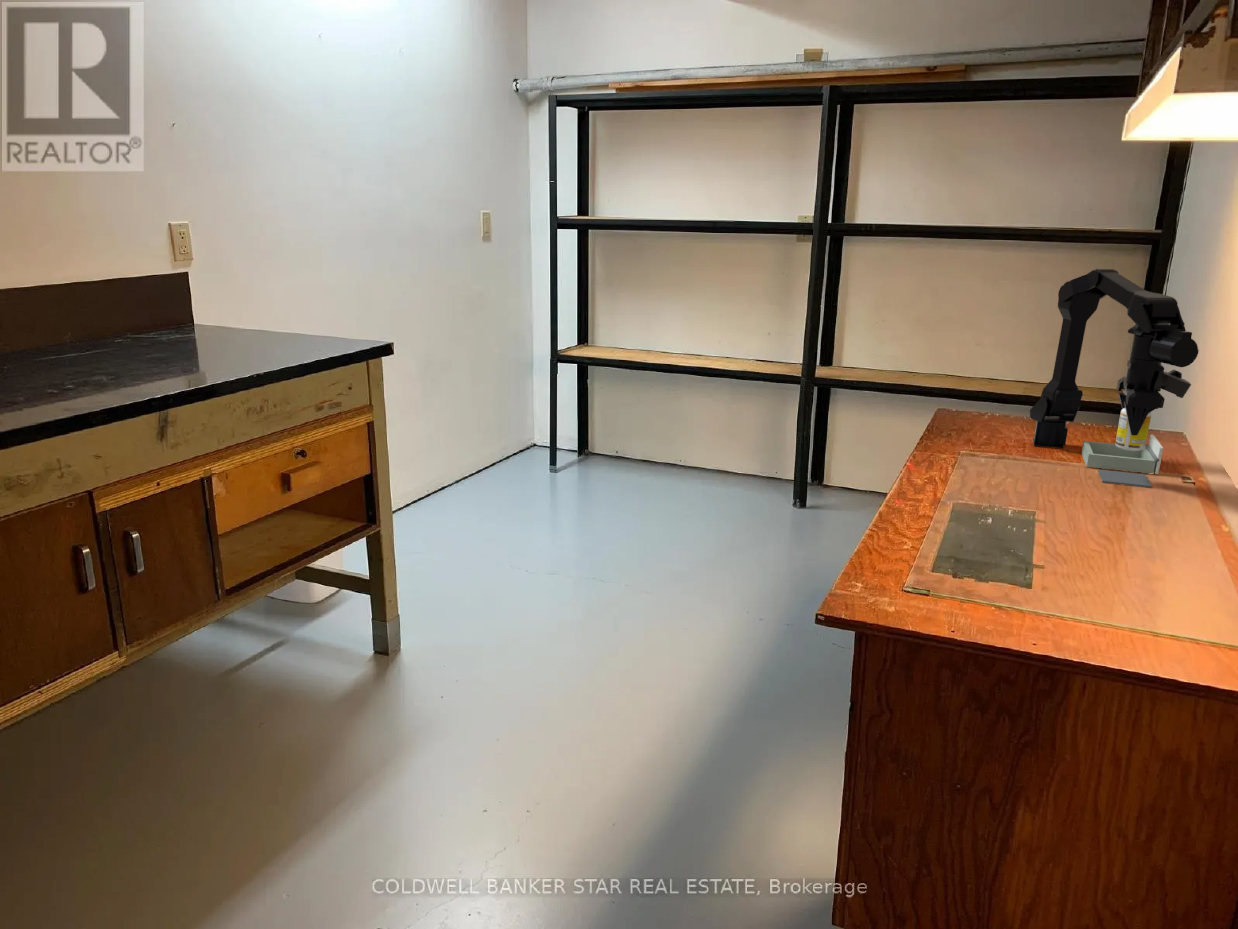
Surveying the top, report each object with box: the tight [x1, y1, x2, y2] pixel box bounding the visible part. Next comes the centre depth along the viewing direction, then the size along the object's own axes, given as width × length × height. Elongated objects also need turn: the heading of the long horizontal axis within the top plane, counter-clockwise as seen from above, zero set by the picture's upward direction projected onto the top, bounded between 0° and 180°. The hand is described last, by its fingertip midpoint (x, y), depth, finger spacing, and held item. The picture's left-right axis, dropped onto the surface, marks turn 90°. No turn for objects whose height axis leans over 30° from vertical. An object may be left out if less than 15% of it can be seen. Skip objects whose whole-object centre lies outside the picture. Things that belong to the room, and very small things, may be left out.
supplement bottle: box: [1114, 408, 1152, 451], centre depth 180 cm, size 6×6×10 cm
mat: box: [1097, 469, 1153, 489], centre depth 183 cm, size 9×9×1 cm
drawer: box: [1081, 433, 1164, 475], centre depth 194 cm, size 14×13×6 cm
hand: (1132, 431), depth 180 cm, fingers closed on supplement bottle, 5 cm apart
